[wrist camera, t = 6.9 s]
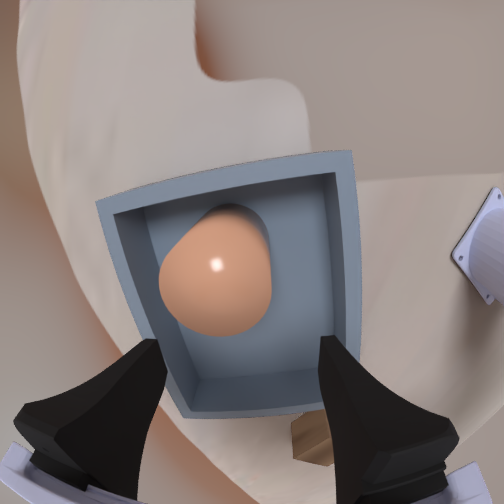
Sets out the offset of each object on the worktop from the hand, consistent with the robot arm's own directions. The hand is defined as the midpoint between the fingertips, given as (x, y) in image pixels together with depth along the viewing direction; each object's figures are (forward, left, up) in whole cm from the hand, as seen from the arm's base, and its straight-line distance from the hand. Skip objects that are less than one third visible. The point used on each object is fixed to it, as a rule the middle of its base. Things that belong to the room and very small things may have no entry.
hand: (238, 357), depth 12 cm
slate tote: (-1, +1, -9) cm, 10 cm away
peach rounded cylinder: (+2, -1, -8) cm, 9 cm away
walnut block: (-17, +10, -10) cm, 22 cm away
